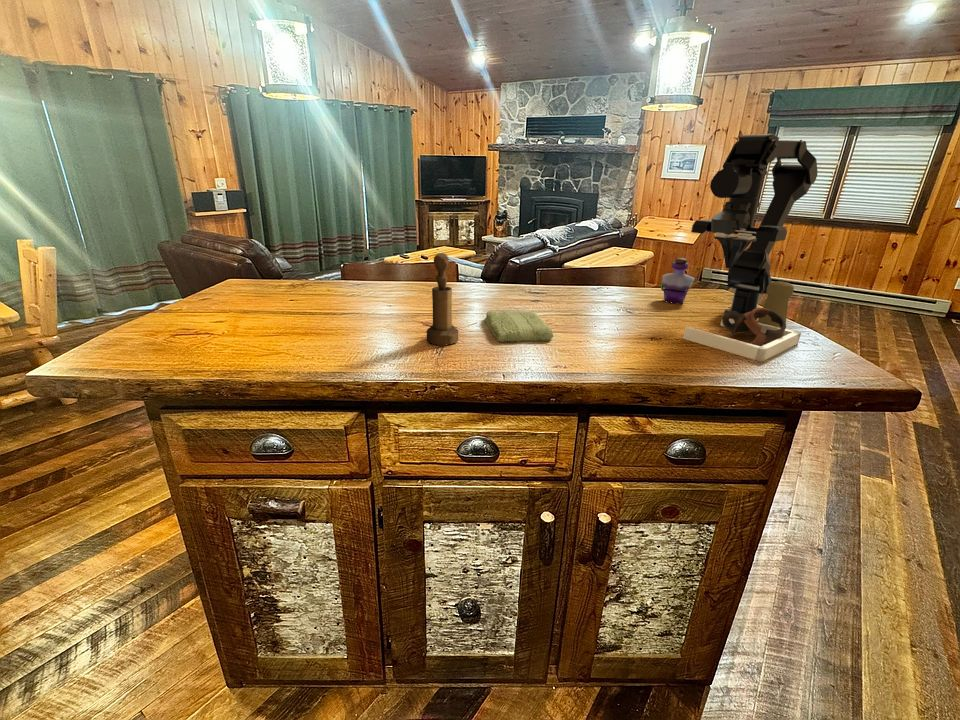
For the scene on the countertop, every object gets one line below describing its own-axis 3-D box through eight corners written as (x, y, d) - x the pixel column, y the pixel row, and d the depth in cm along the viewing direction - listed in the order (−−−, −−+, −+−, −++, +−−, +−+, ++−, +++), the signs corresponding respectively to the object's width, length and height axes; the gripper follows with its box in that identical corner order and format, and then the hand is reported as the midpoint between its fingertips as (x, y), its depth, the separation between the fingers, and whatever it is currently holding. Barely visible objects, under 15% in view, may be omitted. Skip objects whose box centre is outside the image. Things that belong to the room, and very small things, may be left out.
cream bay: (722, 324, 112) (724, 314, 111) (797, 343, 100) (801, 332, 99) (683, 338, 102) (685, 327, 101) (761, 361, 90) (764, 349, 89)
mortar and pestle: (462, 337, 100) (463, 252, 93) (451, 347, 94) (450, 257, 87) (434, 334, 102) (432, 250, 95) (421, 343, 96) (418, 255, 89)
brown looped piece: (768, 337, 105) (791, 312, 99) (766, 367, 100) (790, 342, 93) (714, 318, 107) (733, 292, 101) (710, 346, 102) (729, 321, 95)
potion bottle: (654, 296, 136) (661, 255, 131) (685, 298, 135) (693, 256, 130) (661, 304, 128) (668, 260, 123) (694, 306, 127) (702, 261, 122)
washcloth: (535, 319, 115) (535, 306, 114) (555, 343, 99) (556, 329, 97) (482, 320, 113) (482, 307, 112) (494, 345, 97) (494, 331, 96)
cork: (789, 333, 106) (802, 286, 102) (760, 331, 107) (772, 284, 103) (779, 325, 112) (791, 280, 107) (751, 323, 113) (762, 278, 108)
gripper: (684, 195, 105) (672, 265, 111) (773, 200, 92) (754, 279, 97) (710, 195, 112) (697, 260, 117) (796, 199, 98) (777, 273, 104)
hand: (728, 268), depth 109 cm, fingers closed
